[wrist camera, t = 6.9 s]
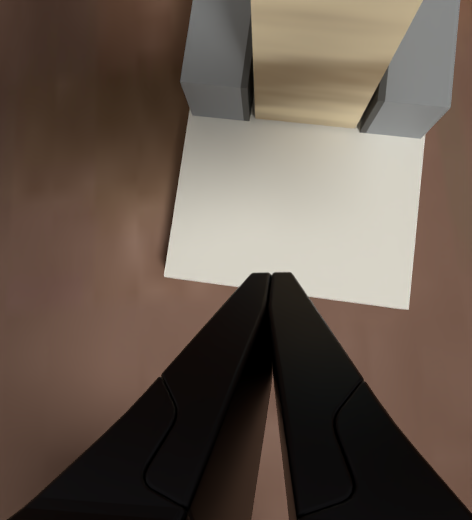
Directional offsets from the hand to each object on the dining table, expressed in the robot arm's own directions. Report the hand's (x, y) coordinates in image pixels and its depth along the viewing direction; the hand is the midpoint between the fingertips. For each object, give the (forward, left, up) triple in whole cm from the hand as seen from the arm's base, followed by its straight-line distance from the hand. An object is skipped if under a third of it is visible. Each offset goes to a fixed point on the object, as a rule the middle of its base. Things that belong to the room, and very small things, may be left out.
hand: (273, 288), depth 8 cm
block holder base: (+4, -6, -12) cm, 14 cm away
